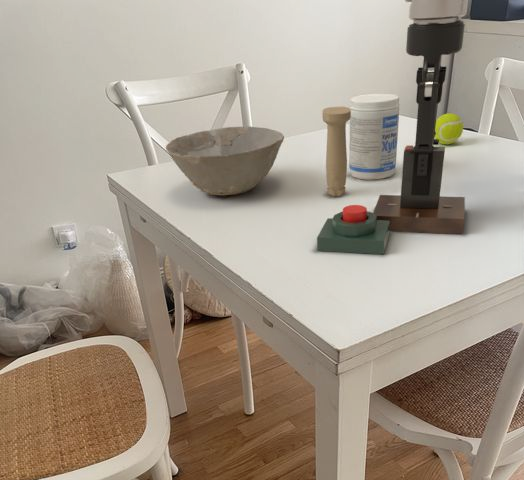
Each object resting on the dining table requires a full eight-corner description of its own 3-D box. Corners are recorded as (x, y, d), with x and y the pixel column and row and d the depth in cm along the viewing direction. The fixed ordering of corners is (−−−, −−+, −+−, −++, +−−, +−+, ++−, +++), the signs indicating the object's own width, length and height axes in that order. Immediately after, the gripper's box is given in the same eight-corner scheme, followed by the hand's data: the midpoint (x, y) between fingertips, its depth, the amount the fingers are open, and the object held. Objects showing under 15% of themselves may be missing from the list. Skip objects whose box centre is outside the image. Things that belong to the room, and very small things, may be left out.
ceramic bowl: (307, 190, 106) (306, 137, 101) (203, 219, 98) (195, 163, 92) (252, 167, 123) (248, 120, 117) (158, 190, 114) (149, 141, 108)
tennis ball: (460, 140, 128) (464, 110, 125) (462, 147, 123) (466, 116, 119) (431, 140, 130) (434, 110, 126) (431, 148, 125) (434, 117, 121)
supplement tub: (390, 182, 107) (395, 102, 98) (343, 180, 110) (344, 102, 102) (399, 168, 114) (404, 92, 106) (354, 166, 117) (356, 93, 109)
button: (368, 216, 83) (368, 205, 82) (364, 224, 80) (364, 213, 79) (344, 215, 84) (345, 204, 83) (340, 223, 81) (340, 212, 80)
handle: (347, 188, 106) (348, 105, 97) (350, 198, 100) (352, 113, 92) (322, 189, 106) (321, 107, 98) (324, 200, 101) (324, 115, 92)
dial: (438, 203, 88) (445, 145, 83) (438, 209, 86) (444, 149, 81) (401, 202, 90) (405, 145, 85) (399, 207, 88) (403, 149, 83)
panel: (462, 211, 91) (464, 195, 90) (462, 234, 83) (464, 218, 82) (379, 208, 95) (379, 193, 94) (371, 230, 87) (371, 214, 86)
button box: (389, 233, 86) (390, 209, 84) (383, 254, 80) (384, 229, 77) (327, 230, 89) (327, 207, 86) (317, 250, 83) (316, 226, 80)
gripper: (412, 18, 80) (401, 176, 94) (402, 27, 68) (391, 207, 82) (465, 14, 78) (446, 176, 92) (465, 23, 66) (443, 209, 79)
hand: (420, 190), depth 87 cm, fingers closed on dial, 2 cm apart
